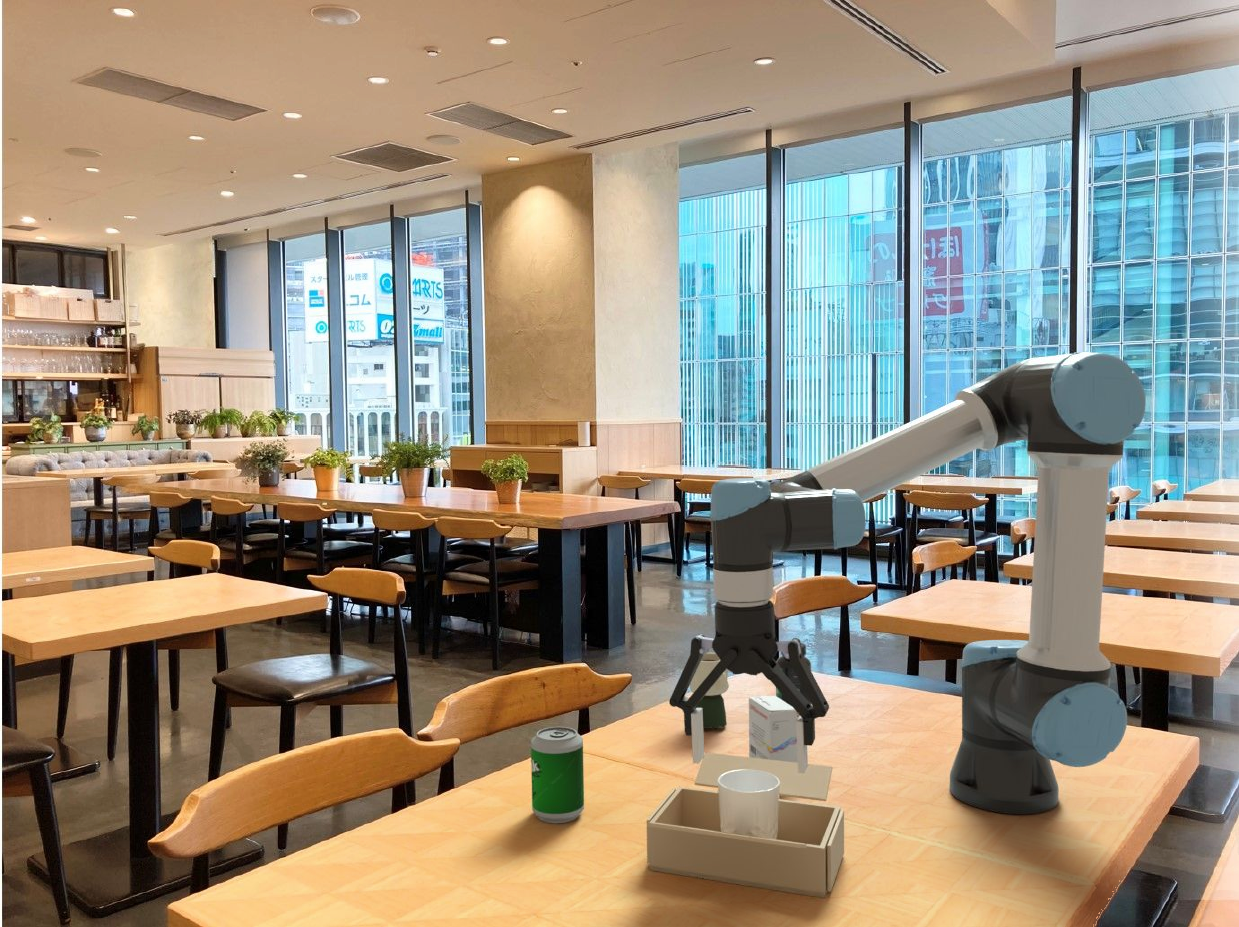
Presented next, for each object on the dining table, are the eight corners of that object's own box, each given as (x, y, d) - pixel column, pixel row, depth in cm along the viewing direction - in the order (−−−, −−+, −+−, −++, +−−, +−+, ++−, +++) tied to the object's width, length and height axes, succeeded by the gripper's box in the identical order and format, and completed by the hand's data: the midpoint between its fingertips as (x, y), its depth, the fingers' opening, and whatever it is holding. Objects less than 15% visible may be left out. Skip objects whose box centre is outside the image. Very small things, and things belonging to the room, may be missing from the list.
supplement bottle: (775, 709, 190) (775, 648, 190) (776, 699, 197) (775, 640, 197) (811, 711, 189) (811, 649, 189) (811, 700, 196) (810, 641, 195)
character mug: (742, 732, 177) (741, 661, 177) (708, 738, 174) (707, 666, 174) (710, 716, 187) (710, 648, 186) (678, 721, 184) (677, 652, 183)
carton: (845, 852, 129) (845, 807, 128) (829, 898, 117) (829, 849, 116) (675, 828, 137) (675, 785, 137) (644, 869, 125) (643, 822, 125)
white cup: (764, 876, 121) (764, 796, 121) (707, 861, 125) (706, 784, 125) (790, 852, 128) (789, 776, 127) (735, 838, 132) (734, 765, 132)
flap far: (826, 801, 130) (832, 768, 135) (825, 799, 130) (832, 766, 135) (694, 785, 137) (705, 754, 142) (694, 782, 136) (705, 752, 141)
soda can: (593, 809, 144) (592, 728, 143) (569, 829, 137) (567, 744, 137) (548, 801, 147) (546, 722, 147) (522, 820, 140) (520, 737, 140)
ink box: (799, 783, 153) (799, 708, 152) (770, 787, 152) (769, 711, 151) (775, 764, 161) (775, 693, 161) (747, 768, 160) (747, 696, 159)
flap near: (806, 844, 117) (797, 843, 111) (806, 848, 116) (797, 847, 111) (661, 824, 123) (646, 822, 118) (661, 827, 123) (646, 826, 118)
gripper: (847, 597, 124) (852, 762, 125) (659, 592, 133) (666, 746, 134) (839, 609, 117) (844, 784, 118) (641, 603, 126) (648, 766, 127)
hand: (749, 764), depth 126 cm, fingers open, 13 cm apart
